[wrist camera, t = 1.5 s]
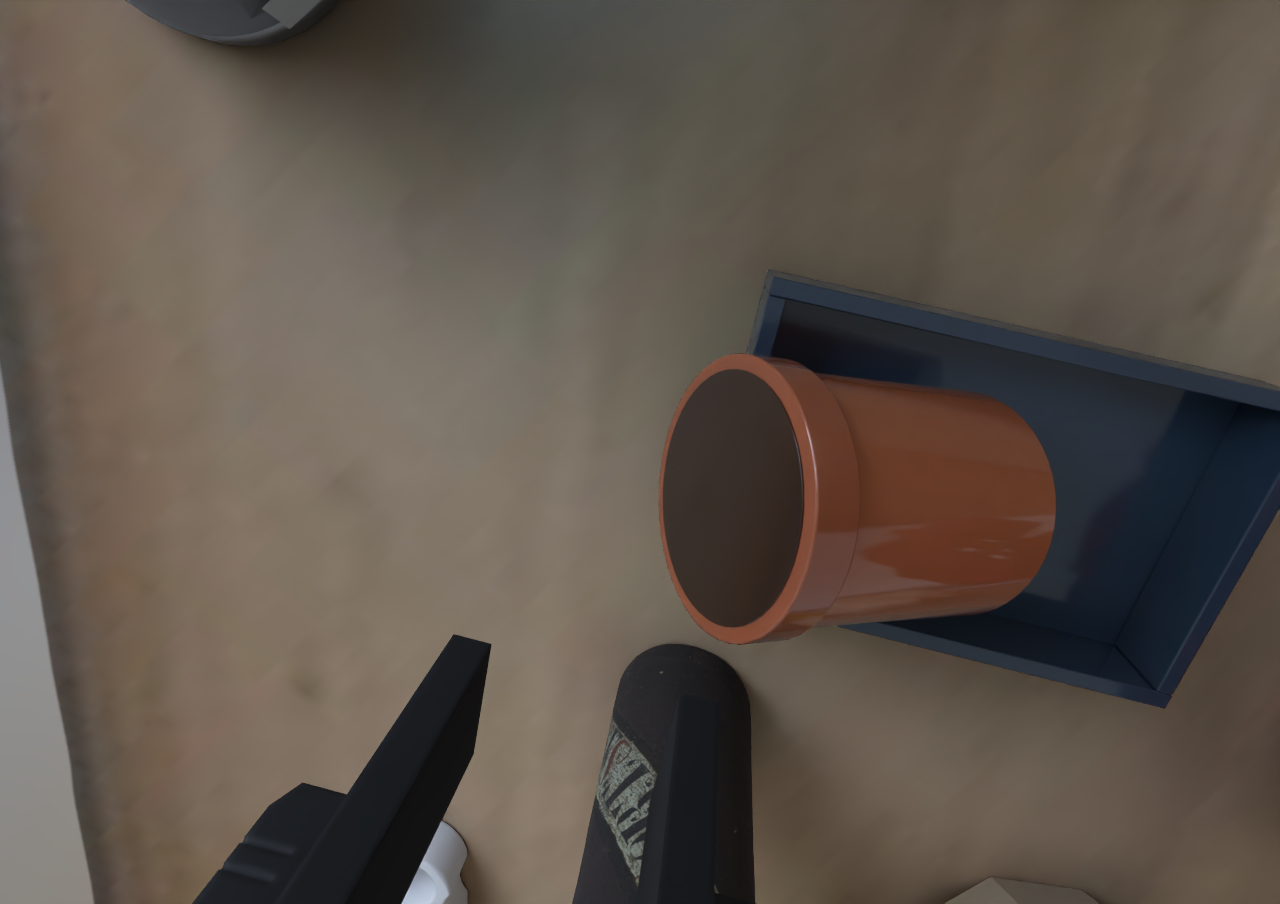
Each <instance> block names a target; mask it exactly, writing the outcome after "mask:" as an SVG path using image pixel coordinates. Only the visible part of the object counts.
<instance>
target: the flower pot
mask: <svg viewBox="0 0 1280 904" xmlns="http://www.w3.org/2000/svg"><path fill="white" fill-rule="evenodd" d="M1055 517H1056V492H1055V486H1054V479H1053V475H1052V471H1051V468H1050V464H1049V461H1048V458H1047V456H1046V454H1045V451H1044V449H1043V447H1042V445H1041V443H1040V442H1039V440H1038V438H1037V437H1036V435H1035V433H1034V432H1033V431H1032V429H1031V428H1030V427H1029V426H1028V424H1027V423H1026V422H1025V421H1024V420H1023V419H1022V418H1021V417H1020V416H1019V415H1018V414H1017V413H1016V412H1015V411H1014V410H1012V409H1011V408H1010V407H1008V406H1007V405H1005V404H1004V403H1003V402H1001V401H999V400H997V399H995V398H993V397H991V396H988V395H985V394H982V393H979V392H973V391H966V390H958V389H950V388H941V387H933V386H924V385H916V384H907V383H899V382H890V381H882V380H873V379H865V378H856V377H848V376H839V375H831V374H822V373H814V372H812V371H811V370H809V369H808V368H806V367H805V366H803V365H801V364H800V363H797V362H795V361H792V360H789V359H784V358H777V357H769V356H762V355H754V354H746V353H736V354H730V355H727V356H724V357H721V358H719V359H717V360H715V361H713V362H712V363H710V364H709V365H708V366H706V367H705V368H704V369H703V370H702V371H701V372H700V373H699V374H698V375H697V376H696V377H695V378H694V379H693V381H692V382H691V384H690V385H689V387H688V388H687V389H686V391H685V393H684V395H683V396H682V398H681V400H680V402H679V404H678V406H677V409H676V411H675V413H674V416H673V419H672V421H671V424H670V427H669V430H668V434H667V438H666V442H665V446H664V451H663V456H662V463H661V470H660V481H659V521H660V530H661V538H662V544H663V550H664V554H665V559H666V563H667V567H668V570H669V573H670V576H671V579H672V582H673V584H674V587H675V589H676V592H677V594H678V596H679V598H680V600H681V602H682V603H683V605H684V607H685V608H686V610H687V611H688V613H689V614H690V616H691V617H692V618H693V620H694V621H695V622H696V623H697V624H698V625H699V626H700V627H701V628H702V629H703V630H704V631H705V632H706V633H708V634H709V635H711V636H713V637H714V638H716V639H718V640H720V641H723V642H726V643H729V644H738V645H742V644H753V643H765V642H776V641H784V640H789V639H792V638H794V637H797V636H799V635H801V634H803V633H804V632H806V631H807V630H809V629H810V628H812V627H824V626H837V625H850V624H862V623H875V622H888V621H901V620H914V619H926V618H939V617H952V616H965V615H974V614H981V613H984V612H988V611H991V610H994V609H996V608H998V607H1000V606H1002V605H1004V604H1006V603H1007V602H1009V601H1010V600H1012V599H1013V598H1014V597H1016V596H1017V595H1018V594H1019V593H1020V592H1021V591H1022V590H1023V589H1024V588H1025V587H1026V586H1027V585H1028V584H1029V583H1030V582H1031V580H1032V579H1033V578H1034V576H1035V575H1036V574H1037V572H1038V570H1039V569H1040V567H1041V565H1042V563H1043V561H1044V560H1045V557H1046V555H1047V552H1048V549H1049V547H1050V544H1051V540H1052V536H1053V532H1054V527H1055Z"/></svg>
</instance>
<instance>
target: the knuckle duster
mask: <svg viewBox="0 0 1280 904" xmlns="http://www.w3.org/2000/svg"><path fill="white" fill-rule="evenodd" d="M466 857H467V849H466V846H465V844H464V842H463V840H462V838H461V837H460V835H459V834H458V833H457V832H456V831H455V830H454V829H453V828H452V827H450V826H449V825H448V824H446V823H445V822H443V821H441V823H440V825H439V827H438V829H437V831H436V833H435V835H434V837H433V839H432V841H431V844H430V846H429V848H428V850H427V852H426V854H425V856H424V858H423V860H422V862H421V864H420V866H419V868H418V871H417V873H416V875H415V877H414V879H413V881H412V883H411V885H410V887H409V889H408V891H407V893H406V896H405V898H404V900H403V902H402V904H468V891H467V889H466V888H465V886H464V885H463V883H462V881H461V878H460V872H461V869H462V867H463V864H464V862H465V860H466Z"/></svg>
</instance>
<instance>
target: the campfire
mask: <svg viewBox="0 0 1280 904" xmlns="http://www.w3.org/2000/svg"><path fill="white" fill-rule="evenodd" d="M944 904H1099V903H1098V902H1097V901H1095V900H1094V899H1093V898H1091V897H1090V896H1089V895H1088V894H1086V893H1085V892H1084V891H1082V890H1081V889H1074V888H1067V887H1059V886H1052V885H1045V884H1038V883H1031V882H1024V881H1017V880H1009V879H1002V878H995V877H989V878H988V879H986V880H984V881H982V882H981V883H979V884H977V885H976V886H974V887H972V888H970V889H969V890H967V891H965V892H963V893H962V894H960V895H958V896H956V897H955V898H953V899H951V900H949V901H948V902H946V903H944Z"/></svg>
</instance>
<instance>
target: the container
mask: <svg viewBox="0 0 1280 904" xmlns="http://www.w3.org/2000/svg"><path fill="white" fill-rule="evenodd" d="M680 693H683V694H687V695H691V696H695V697H698V698H702V699H706V700H710V701H714V702H718V703H719V729H718V767H717V805H716V843H715V882H714V892H715V893H718V894H722V895H726V896H729V897H733V898H737V899H740V900H744V901H748V902H751V903H755V881H754V853H753V821H752V769H751V714H750V703H749V698H748V695H747V692H746V689H745V687H744V685H743V683H742V682H741V680H740V678H739V677H738V676H737V674H736V673H735V672H734V670H733V669H732V668H731V667H730V666H729V665H728V664H726V663H725V662H724V661H723V660H721V659H720V658H719V657H717V656H715V655H714V654H712V653H710V652H707V651H705V650H703V649H700V648H697V647H693V646H689V645H681V644H666V645H660V646H656V647H653V648H651V649H649V650H646V651H645V652H643V653H642V654H640V655H639V656H637V657H636V658H635V659H634V660H633V661H632V663H631V664H630V665H629V666H628V667H627V669H626V670H625V672H624V674H623V676H622V678H621V681H620V684H619V688H618V692H617V696H616V700H615V704H614V709H613V715H612V719H611V724H610V729H609V733H608V739H607V743H606V748H605V753H604V757H603V762H602V766H601V771H600V775H599V780H598V784H597V791H596V796H595V800H594V805H593V810H592V814H591V818H590V823H589V828H588V833H587V838H586V844H585V848H584V853H583V858H582V863H581V867H580V872H579V877H578V882H577V886H576V890H575V894H574V899H573V903H572V904H636V897H637V890H638V883H639V876H640V868H641V861H642V854H643V847H644V840H645V833H646V826H647V818H648V811H649V804H650V799H651V795H652V792H653V788H654V785H655V781H656V777H657V774H658V770H659V767H660V763H661V760H662V756H663V752H664V749H665V745H666V742H667V738H668V735H669V731H670V727H671V724H672V720H673V717H674V713H675V710H676V706H677V702H678V699H679V695H680Z"/></svg>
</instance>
